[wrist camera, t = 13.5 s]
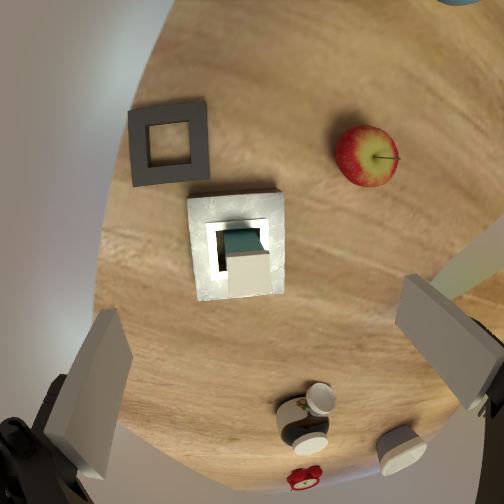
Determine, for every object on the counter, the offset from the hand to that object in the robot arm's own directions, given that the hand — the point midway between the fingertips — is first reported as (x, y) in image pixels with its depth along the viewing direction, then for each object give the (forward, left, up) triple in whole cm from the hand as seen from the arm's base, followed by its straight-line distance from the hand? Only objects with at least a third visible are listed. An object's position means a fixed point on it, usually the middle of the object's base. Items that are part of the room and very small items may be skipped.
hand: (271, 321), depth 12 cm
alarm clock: (+83, +17, -30) cm, 90 cm away
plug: (+6, +1, -29) cm, 30 cm away
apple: (-6, +18, -29) cm, 35 cm away
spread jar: (+42, +12, -29) cm, 52 cm away
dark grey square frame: (-8, -7, -29) cm, 31 cm away
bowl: (+75, +46, -29) cm, 93 cm away
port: (+6, +1, -29) cm, 30 cm away
